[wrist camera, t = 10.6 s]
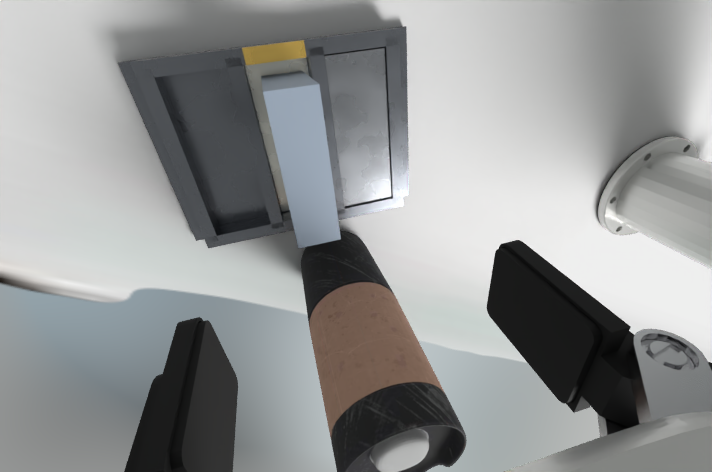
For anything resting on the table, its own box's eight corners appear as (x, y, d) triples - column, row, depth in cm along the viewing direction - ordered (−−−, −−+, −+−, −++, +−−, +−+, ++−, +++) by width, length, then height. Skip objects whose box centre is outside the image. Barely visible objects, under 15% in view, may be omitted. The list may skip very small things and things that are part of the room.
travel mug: (302, 226, 32) (352, 436, 15) (376, 229, 34) (489, 414, 17) (294, 288, 35) (328, 513, 19) (362, 287, 38) (444, 486, 21)
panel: (302, 70, 24) (319, 84, 18) (322, 193, 30) (341, 239, 23) (260, 76, 24) (262, 91, 17) (288, 200, 29) (298, 248, 22)
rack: (403, 26, 25) (417, 25, 23) (406, 192, 33) (417, 204, 30) (120, 62, 22) (105, 65, 20) (197, 237, 29) (192, 253, 27)
